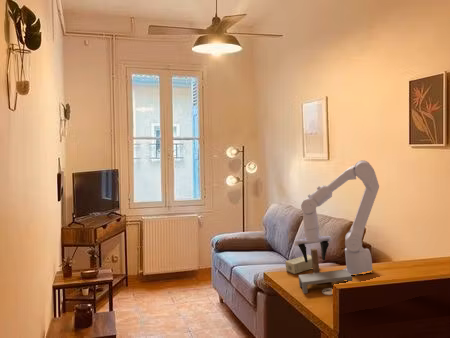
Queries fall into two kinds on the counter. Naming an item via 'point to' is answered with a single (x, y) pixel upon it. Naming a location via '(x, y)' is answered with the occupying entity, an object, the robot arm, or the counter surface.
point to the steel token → (327, 291)
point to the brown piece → (315, 260)
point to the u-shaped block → (323, 278)
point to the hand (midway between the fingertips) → (314, 260)
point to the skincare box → (299, 264)
